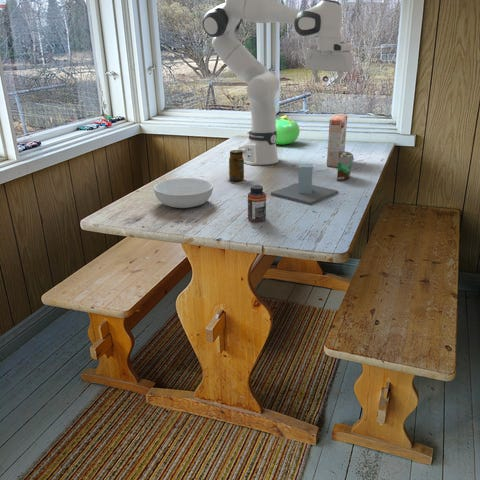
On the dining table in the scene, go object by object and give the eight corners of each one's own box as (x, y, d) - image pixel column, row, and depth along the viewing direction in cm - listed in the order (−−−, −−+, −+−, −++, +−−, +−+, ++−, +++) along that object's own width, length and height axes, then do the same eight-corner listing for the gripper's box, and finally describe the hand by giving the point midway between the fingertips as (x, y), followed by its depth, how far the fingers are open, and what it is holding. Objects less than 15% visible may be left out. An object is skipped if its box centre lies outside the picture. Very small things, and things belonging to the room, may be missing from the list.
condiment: (241, 176, 213) (241, 148, 209) (249, 182, 206) (248, 153, 201) (225, 178, 211) (224, 150, 206) (232, 184, 204) (231, 154, 199)
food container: (352, 182, 203) (354, 158, 199) (336, 182, 204) (338, 157, 200) (352, 174, 214) (354, 151, 210) (337, 173, 215) (339, 150, 211)
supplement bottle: (246, 216, 169) (246, 184, 164) (264, 215, 169) (264, 183, 165) (248, 223, 163) (248, 189, 159) (267, 222, 164) (267, 188, 159)
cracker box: (339, 167, 224) (342, 119, 216) (326, 166, 226) (328, 119, 218) (344, 160, 236) (348, 114, 228) (332, 159, 238) (334, 114, 230)
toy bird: (302, 142, 273) (303, 114, 268) (292, 149, 259) (293, 120, 254) (271, 140, 280) (271, 113, 275) (260, 146, 266) (260, 117, 260)
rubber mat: (270, 194, 190) (270, 192, 190) (299, 184, 202) (299, 181, 202) (310, 205, 179) (310, 202, 178) (338, 193, 191) (338, 190, 190)
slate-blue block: (298, 193, 188) (298, 166, 184) (298, 189, 193) (299, 163, 189) (311, 193, 188) (312, 167, 184) (311, 189, 192) (312, 163, 188)
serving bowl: (190, 218, 169) (189, 198, 166) (143, 207, 179) (141, 189, 176) (224, 200, 185) (224, 182, 182) (179, 192, 195) (178, 174, 192)
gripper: (302, 45, 201) (301, 82, 206) (347, 46, 188) (344, 85, 193) (311, 45, 205) (310, 80, 210) (356, 45, 192) (353, 83, 197)
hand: (327, 82), depth 202 cm, fingers open, 8 cm apart
